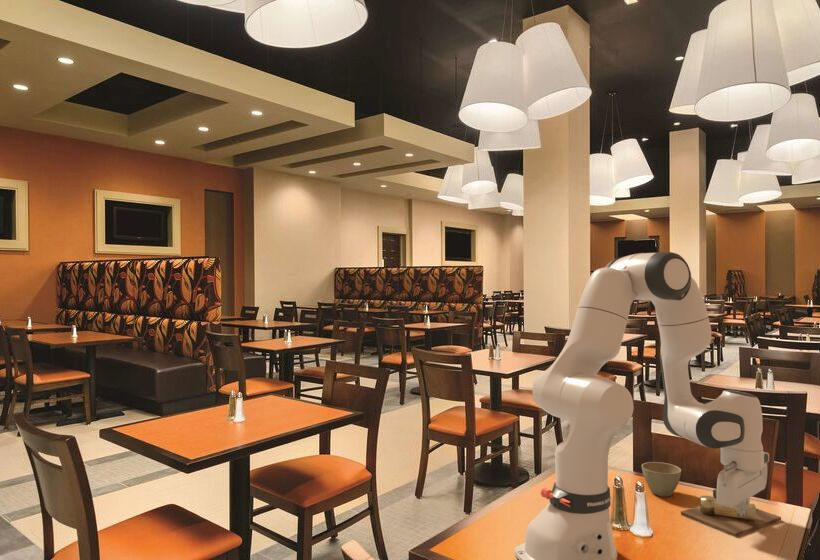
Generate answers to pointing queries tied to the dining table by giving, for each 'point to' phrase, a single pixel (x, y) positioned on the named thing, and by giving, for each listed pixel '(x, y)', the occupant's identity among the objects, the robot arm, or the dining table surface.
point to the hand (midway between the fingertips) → (742, 515)
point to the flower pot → (661, 477)
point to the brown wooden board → (731, 521)
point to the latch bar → (723, 508)
